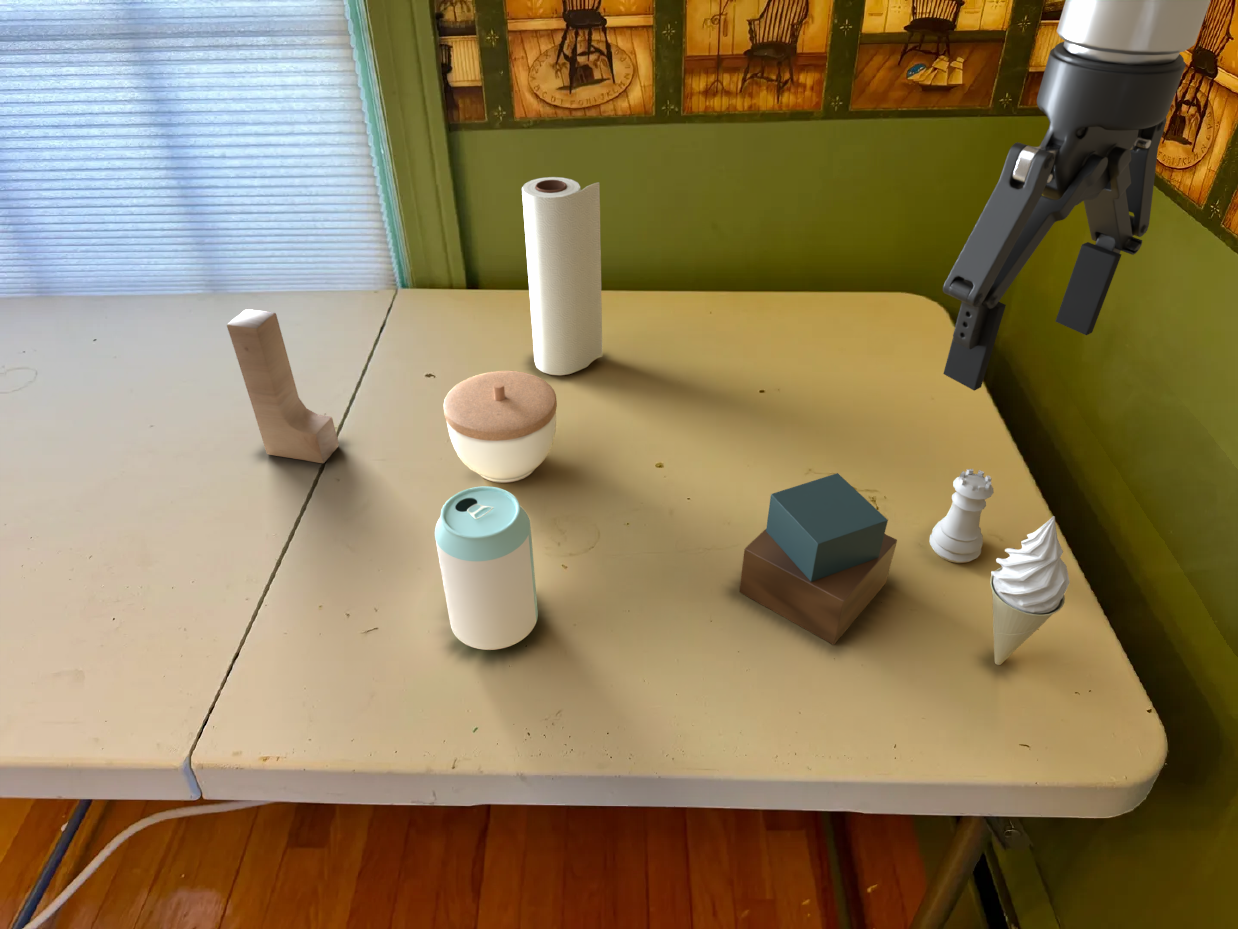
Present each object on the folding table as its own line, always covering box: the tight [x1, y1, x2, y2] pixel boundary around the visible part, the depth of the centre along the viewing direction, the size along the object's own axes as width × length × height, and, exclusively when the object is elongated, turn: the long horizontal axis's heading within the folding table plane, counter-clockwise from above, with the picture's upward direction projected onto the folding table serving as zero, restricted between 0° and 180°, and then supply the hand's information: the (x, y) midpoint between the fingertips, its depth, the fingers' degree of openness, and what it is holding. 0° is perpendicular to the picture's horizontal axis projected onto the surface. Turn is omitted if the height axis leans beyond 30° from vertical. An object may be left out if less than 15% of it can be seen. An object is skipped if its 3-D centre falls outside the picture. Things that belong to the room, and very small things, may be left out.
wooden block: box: [226, 308, 340, 464], centre depth 85 cm, size 7×3×15 cm, turn 75°
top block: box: [765, 472, 889, 582], centre depth 70 cm, size 6×6×4 cm
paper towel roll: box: [521, 176, 604, 376], centre depth 96 cm, size 7×6×21 cm
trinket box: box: [442, 370, 558, 484], centre depth 85 cm, size 11×11×9 cm
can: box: [434, 485, 539, 651], centre depth 67 cm, size 7×7×12 cm
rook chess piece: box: [928, 468, 995, 564], centre depth 75 cm, size 4×4×8 cm
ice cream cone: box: [989, 515, 1071, 666], centre depth 63 cm, size 5×5×15 cm
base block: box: [739, 528, 898, 646], centre depth 72 cm, size 9×9×5 cm
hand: (1020, 353), depth 66 cm, fingers open, 13 cm apart
